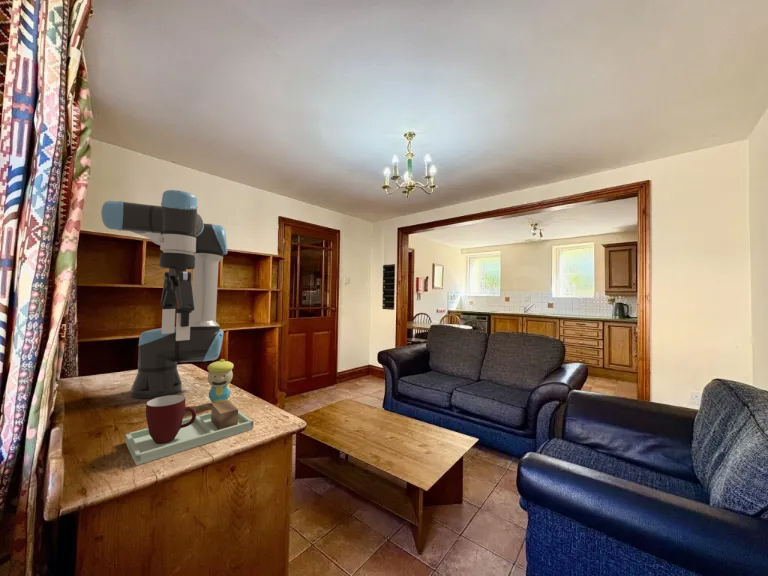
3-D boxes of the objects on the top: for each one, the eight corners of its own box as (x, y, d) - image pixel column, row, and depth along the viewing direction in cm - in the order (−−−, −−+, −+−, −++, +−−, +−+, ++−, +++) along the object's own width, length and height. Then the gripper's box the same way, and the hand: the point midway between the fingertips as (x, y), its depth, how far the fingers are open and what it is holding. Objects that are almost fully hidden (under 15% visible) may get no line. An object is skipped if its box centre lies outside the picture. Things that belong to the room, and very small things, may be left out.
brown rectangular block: (219, 432, 83) (220, 413, 83) (211, 420, 89) (211, 403, 89) (237, 427, 86) (238, 409, 86) (227, 416, 92) (228, 400, 92)
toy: (204, 410, 98) (205, 363, 98) (207, 400, 107) (209, 357, 107) (231, 407, 102) (233, 361, 102) (232, 398, 110) (234, 356, 110)
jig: (125, 442, 77) (125, 433, 77) (233, 414, 96) (233, 407, 96) (136, 465, 68) (136, 455, 68) (253, 428, 87) (253, 421, 87)
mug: (192, 427, 85) (193, 391, 85) (197, 439, 79) (199, 399, 79) (143, 438, 78) (145, 399, 78) (145, 452, 72) (147, 409, 72)
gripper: (149, 254, 84) (146, 331, 84) (174, 248, 67) (170, 345, 67) (181, 256, 90) (178, 329, 90) (211, 252, 73) (208, 341, 73)
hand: (174, 336), depth 79 cm, fingers open, 13 cm apart
